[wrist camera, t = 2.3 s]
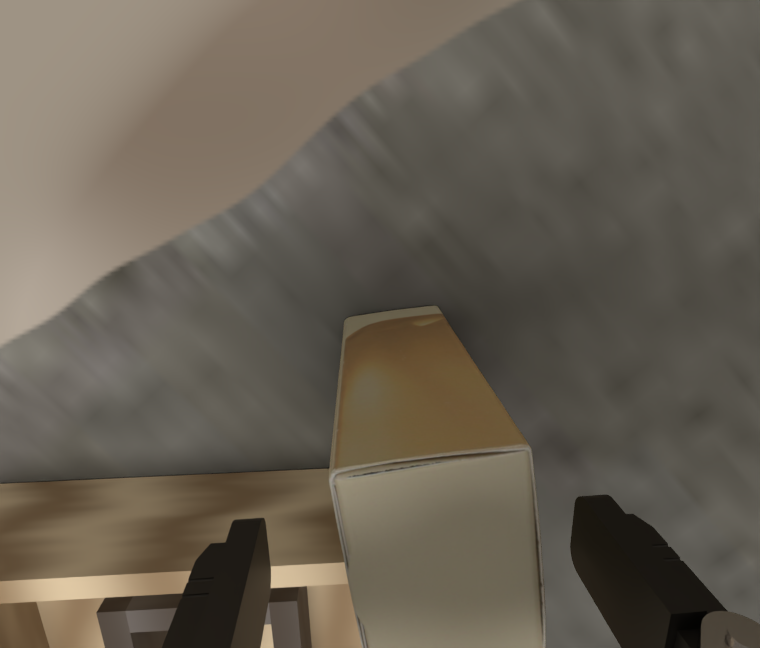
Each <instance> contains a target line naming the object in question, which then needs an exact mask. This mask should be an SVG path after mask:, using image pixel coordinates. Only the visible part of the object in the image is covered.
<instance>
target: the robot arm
mask: <svg viewBox="0 0 760 648" xmlns="http://www.w3.org/2000/svg"><path fill="white" fill-rule="evenodd" d="M570 548H571V556H572V561H573V564H574V567H575V569H576V571H577V573H578V575H579V577H580V578H581V580H582V582H583V583H584V585H585V587H586V588H587V590H588V592H589V593H590V595H591V597H592V599H593V600H594V602H595V604H596V605H597V607H598V609H599V610H600V612H601V614H602V615H603V617H604V619H605V621H606V622H607V624H608V626H609V627H610V629H611V631H612V632H613V634H614V636H615V637H616V639H617V641H618V643H619V644H620V646H621V648H760V624H759V623H757V622H755V621H753V620H752V619H750V618H747V617H745V616H743V615H740V614H737V613H733V612H728V611H727V610H726V609H725V608H724V607H723V606H722V605H721V603H720V602H719V601H718V600H717V599H716V598H715V597H714V595H713V594H712V593H711V592H710V591H709V590H708V589H707V588H706V586H705V585H704V584H703V583H702V582H701V581H700V580H699V579H698V577H697V576H696V575H695V574H694V573H693V572H692V571H691V569H690V568H689V567H688V566H687V565H686V564H685V563H684V562H683V561H681V560H680V557H679V556H678V555H677V554H676V553H675V551H674V550H673V549H672V548H671V547H668V543H667V542H666V541H665V540H664V539H663V538H662V537H661V536H660V534H659V533H658V532H657V531H656V530H655V529H654V528H653V527H652V526H650V525H649V524H647V523H646V522H644V521H643V520H641V519H640V518H638V517H637V516H635V515H634V514H625V513H624V511H623V510H622V509H621V508H620V507H619V505H618V504H617V503H616V502H615V501H614V499H613V498H612V497H611V496H609V495H594V496H580V497H578V498H577V499H576V501H575V507H574V516H573V526H572V535H571V545H570ZM270 588H271V565H270V556H269V548H268V539H267V530H266V522H265V519H264V518H251V519H236V520H233V522H232V524H231V527H230V530H229V533H228V536H227V539H226V542H224V543H211V544H210V545H209V546H208V547H207V548H206V549H205V550H204V551H203V553H202V554H201V555H200V556H199V557H198V558H197V559H196V560H195V563H194V566H193V568H192V571H191V573H190V576H189V579H188V583H187V584H186V586H185V589H184V591H183V594H182V599H180V602H179V604H178V607H177V609H176V612H175V615H174V617H173V620H172V622H171V625H170V628H169V630H168V633H167V635H166V638H165V640H164V643H163V646H162V648H260V647H261V641H262V636H263V630H264V625H265V619H266V613H267V608H268V602H269V596H270Z"/></svg>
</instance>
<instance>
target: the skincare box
mask: <svg viewBox="0 0 760 648" xmlns="http://www.w3.org/2000/svg"><path fill="white" fill-rule="evenodd" d="M329 486H330V491H331V496H332V501H333V507H334V512H335V518H336V523H337V528H338V533H339V538H340V543H341V549H342V553H343V557H344V563H345V569H346V574H347V579H348V584H349V588H350V593H351V598H352V602H353V607H354V612H355V616H356V621H357V626H358V630H359V635H360V640H361V645H362V648H545V645H546V633H545V631H546V622H545V594H544V579H543V564H542V548H541V536H540V525H539V513H538V503H537V495H536V484H535V476H534V467H533V458H532V450H531V447H530V446H529V444H528V443H527V441H526V440H525V438H524V437H523V435H522V433H521V432H520V431H519V429H518V428H517V426H516V425H515V423H514V422H513V420H512V419H511V417H510V416H509V414H508V413H507V411H506V410H505V408H504V407H503V405H502V403H501V402H500V400H499V399H498V397H497V396H496V394H495V393H494V391H493V390H492V388H491V387H490V385H489V384H488V383H487V381H486V379H485V378H484V376H483V375H482V373H481V372H480V370H479V369H478V367H477V366H476V364H475V363H474V361H473V360H472V358H471V357H470V355H469V354H468V352H467V351H466V349H465V347H464V346H463V344H462V343H461V341H460V340H459V338H458V337H457V335H456V334H455V332H454V331H453V330H452V328H451V326H450V325H449V323H448V322H447V320H446V319H445V317H444V315H443V314H442V312H441V311H440V309H439V308H438V307H437V306H434V305H433V306H425V307H416V308H408V309H400V310H392V311H385V312H378V313H371V314H365V315H358V316H352V317H348V318H347V319H345V321H344V329H343V340H342V350H341V360H340V369H339V378H338V388H337V398H336V409H335V419H334V429H333V438H332V448H331V457H330V467H329Z"/></svg>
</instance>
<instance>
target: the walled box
mask: <svg viewBox="0 0 760 648" xmlns="http://www.w3.org/2000/svg"><path fill="white" fill-rule="evenodd" d="M251 518H264V519H265V522H266V530H267V539H268V548H269V556H270V565H271V588H270V596H269V602H268V608H267V613H266V619H265V625H264V630H263V636H262V641H261V647H260V648H362V645H361V640H360V635H359V630H358V626H357V621H356V616H355V612H354V607H353V602H352V598H351V593H350V588H349V584H348V579H347V574H346V569H345V563H344V557H343V553H342V549H341V543H340V538H339V533H338V528H337V523H336V518H335V512H334V507H333V501H332V496H331V491H330V486H329V469H307V470H286V471H264V472H243V473H221V474H199V475H178V476H156V477H135V478H113V479H92V480H70V481H49V482H27V483H6V484H0V648H162V646H163V643H164V640H165V638H166V635H167V633H168V630H169V628H170V625H171V622H172V620H173V617H174V615H175V612H176V609H177V607H178V604H179V602H180V599H182V594H183V591H184V589H185V586H186V584H187V583H188V579H189V576H190V573H191V571H192V568H193V566H194V563H195V560H196V559H197V558H198V557H199V556H200V555H201V554H202V553H203V551H204V550H205V549H206V548H207V547H208V546H209V545H210V544H211V543H224V542H226V539H227V536H228V533H229V530H230V527H231V524H232V522H233V520H236V519H251Z"/></svg>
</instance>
